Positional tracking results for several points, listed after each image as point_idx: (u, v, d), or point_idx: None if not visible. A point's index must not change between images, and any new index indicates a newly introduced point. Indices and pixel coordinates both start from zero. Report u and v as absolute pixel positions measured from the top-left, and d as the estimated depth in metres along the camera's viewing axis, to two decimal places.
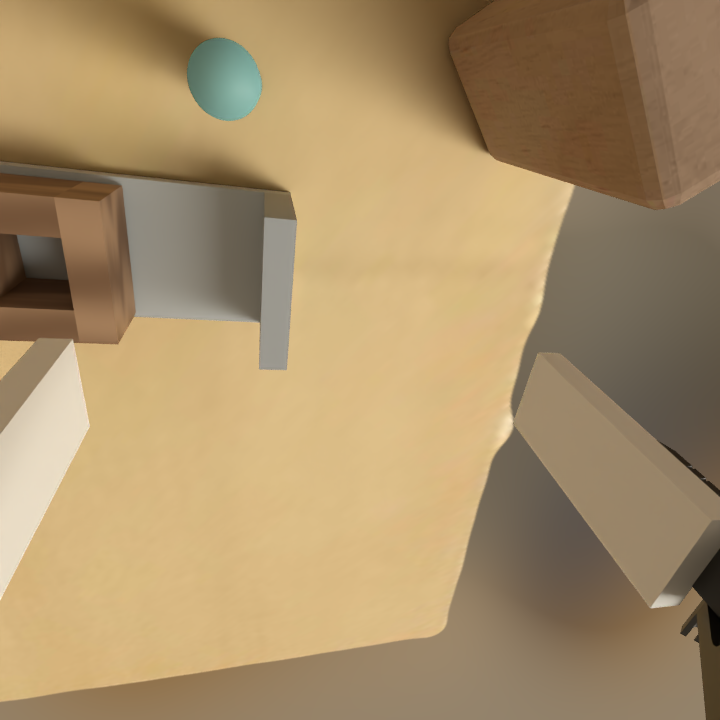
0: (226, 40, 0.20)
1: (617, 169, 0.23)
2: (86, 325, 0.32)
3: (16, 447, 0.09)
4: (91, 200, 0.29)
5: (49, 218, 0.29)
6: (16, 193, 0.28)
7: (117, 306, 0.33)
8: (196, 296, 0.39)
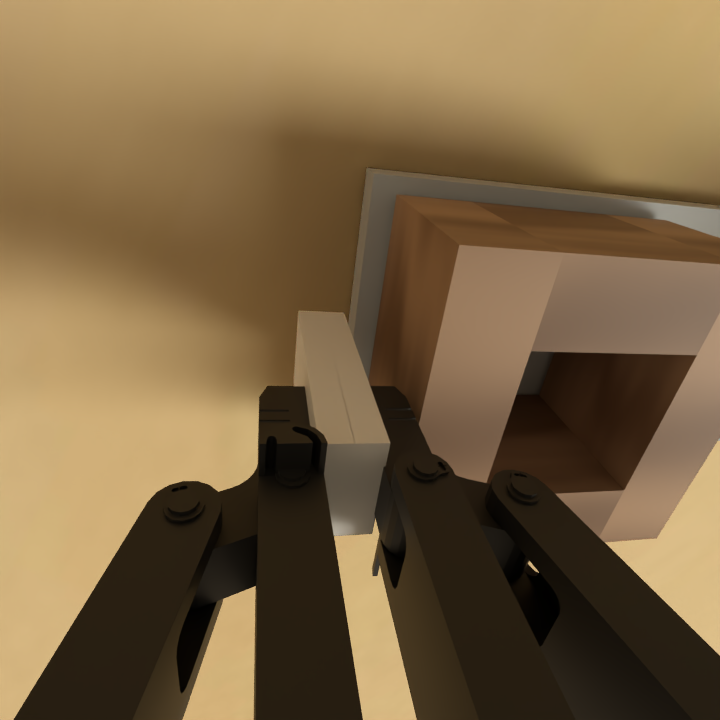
0: None
1: None
2: (627, 513, 0.16)
3: None
4: None
5: (703, 314, 0.12)
6: (671, 260, 0.11)
7: None
8: None
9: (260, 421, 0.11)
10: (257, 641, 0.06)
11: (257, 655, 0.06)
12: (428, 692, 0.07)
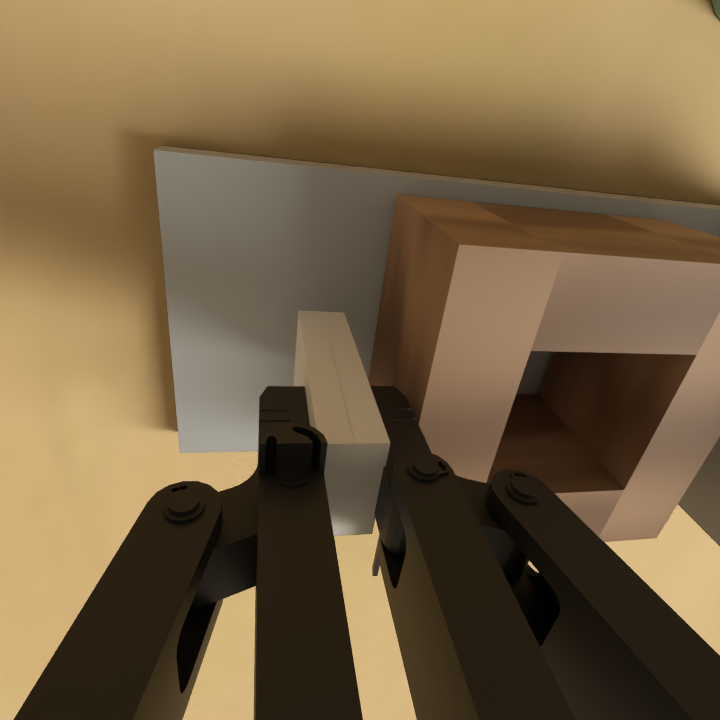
0: None
1: None
2: (627, 513, 0.16)
3: None
4: None
5: (702, 314, 0.12)
6: (670, 259, 0.11)
7: None
8: None
9: (260, 421, 0.11)
10: (257, 641, 0.06)
11: (257, 655, 0.06)
12: (428, 692, 0.07)
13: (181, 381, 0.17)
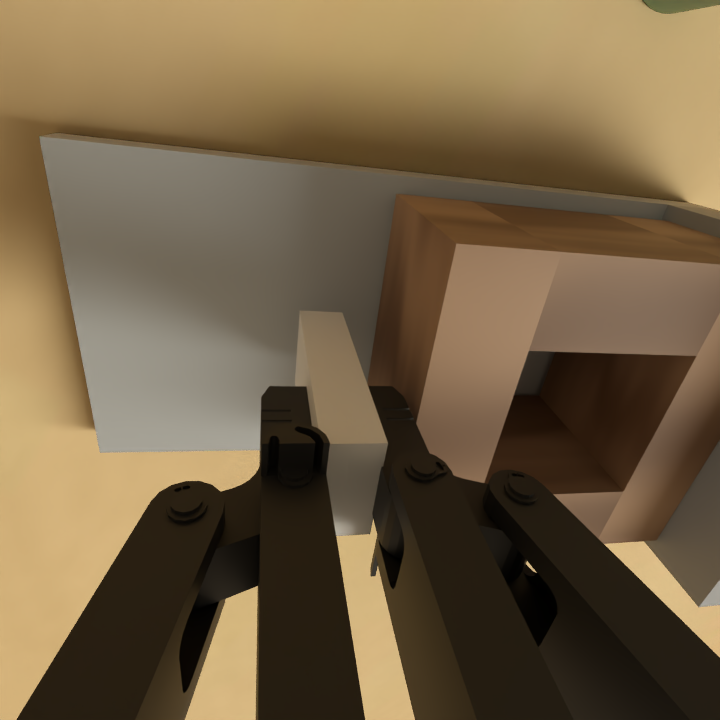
0: None
1: None
2: (626, 514, 0.16)
3: None
4: None
5: (703, 314, 0.12)
6: (670, 260, 0.11)
7: None
8: None
9: (262, 421, 0.11)
10: (260, 640, 0.06)
11: (260, 654, 0.06)
12: (426, 692, 0.07)
13: (94, 378, 0.16)
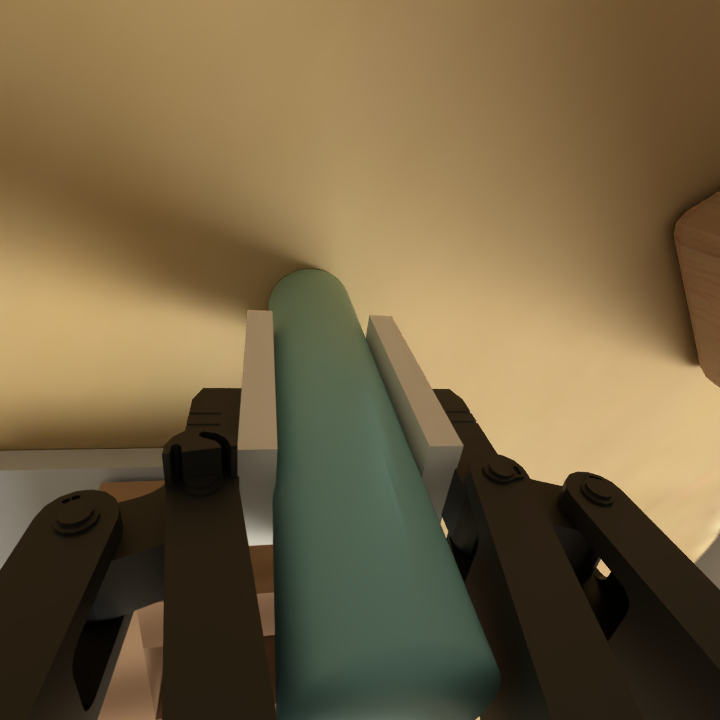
0: (419, 648, 0.06)
1: None
2: None
3: None
4: None
5: None
6: None
7: None
8: None
9: (188, 425, 0.10)
10: (163, 666, 0.06)
11: (163, 681, 0.05)
12: None
13: None
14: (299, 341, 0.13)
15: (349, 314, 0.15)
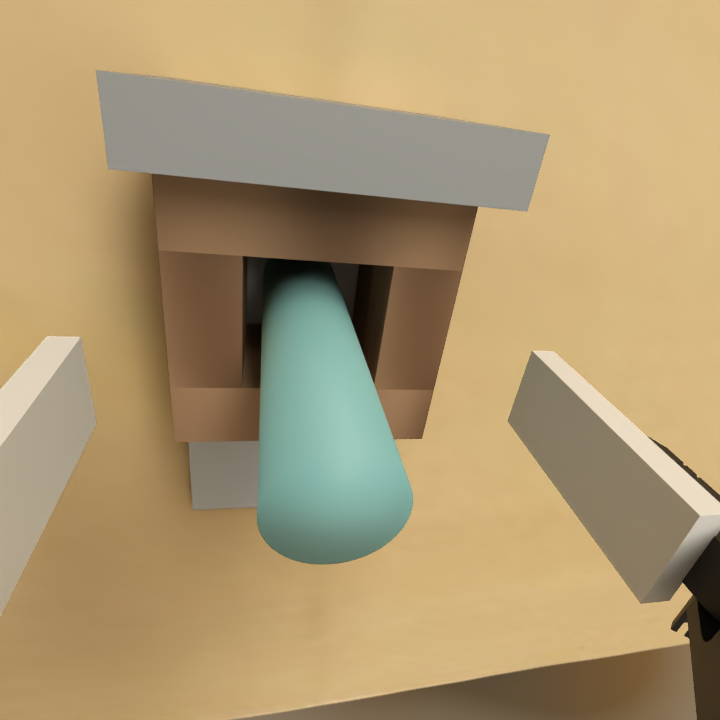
0: (350, 455, 0.09)
1: None
2: (428, 250, 0.16)
3: (27, 442, 0.09)
4: None
5: (203, 267, 0.15)
6: (164, 310, 0.15)
7: None
8: None
9: None
10: None
11: None
12: None
13: None
14: (285, 293, 0.16)
15: (329, 276, 0.18)
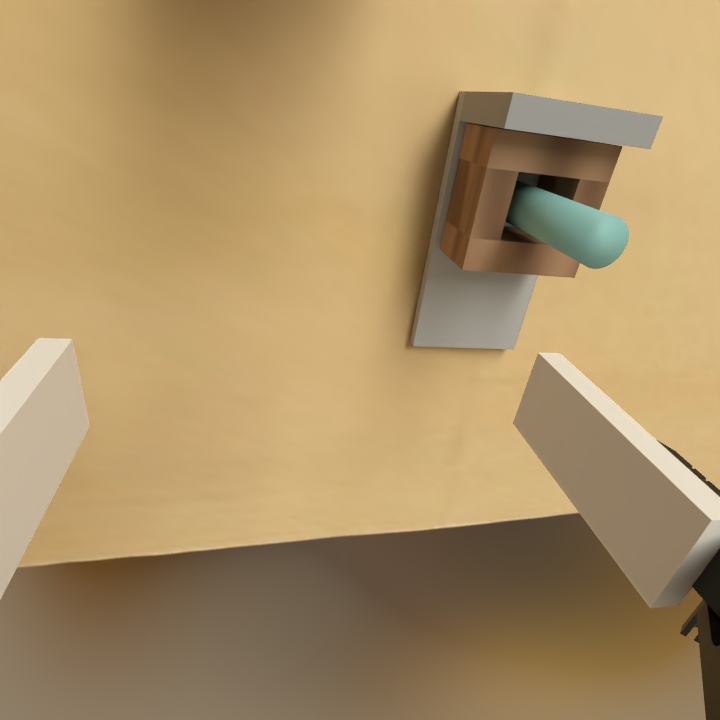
0: (615, 217, 0.27)
1: None
2: (596, 171, 0.34)
3: (16, 447, 0.09)
4: (493, 135, 0.32)
5: (501, 176, 0.33)
6: (479, 197, 0.34)
7: None
8: None
9: None
10: None
11: None
12: None
13: (484, 346, 0.47)
14: (529, 191, 0.34)
15: None
